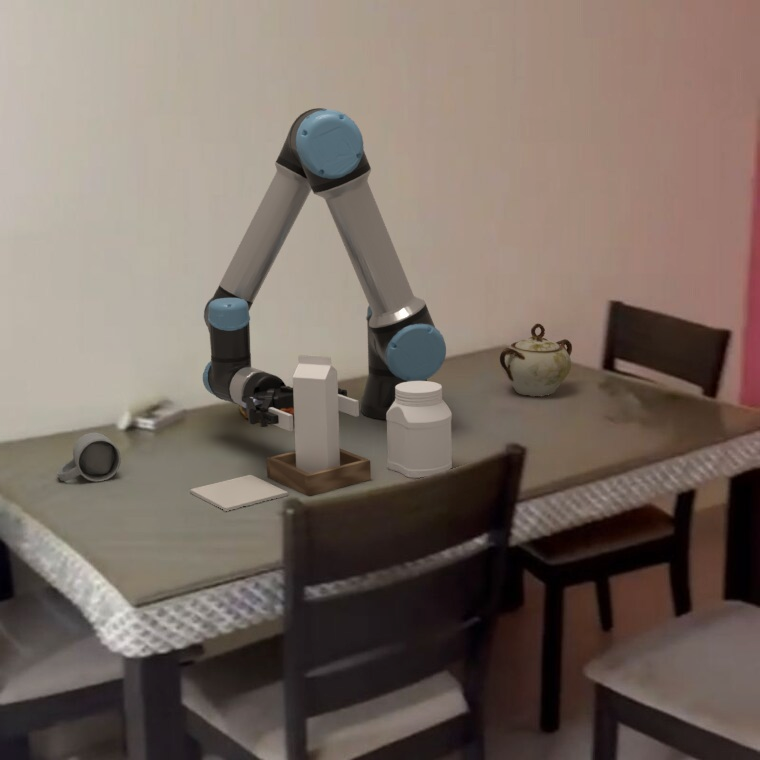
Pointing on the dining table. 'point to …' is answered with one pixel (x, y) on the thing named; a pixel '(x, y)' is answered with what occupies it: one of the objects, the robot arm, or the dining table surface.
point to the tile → (238, 492)
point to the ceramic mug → (92, 459)
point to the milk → (316, 414)
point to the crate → (318, 473)
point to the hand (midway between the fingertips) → (324, 415)
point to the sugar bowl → (536, 364)
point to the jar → (419, 430)
